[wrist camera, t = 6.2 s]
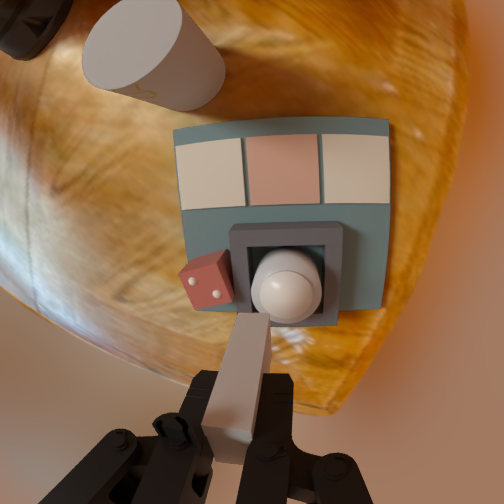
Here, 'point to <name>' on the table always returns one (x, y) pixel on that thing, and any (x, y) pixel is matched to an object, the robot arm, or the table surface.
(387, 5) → the table surface
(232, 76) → the table surface
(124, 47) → the white cylinder
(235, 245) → the board
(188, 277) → the die
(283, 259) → the dome
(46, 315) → the table surface
